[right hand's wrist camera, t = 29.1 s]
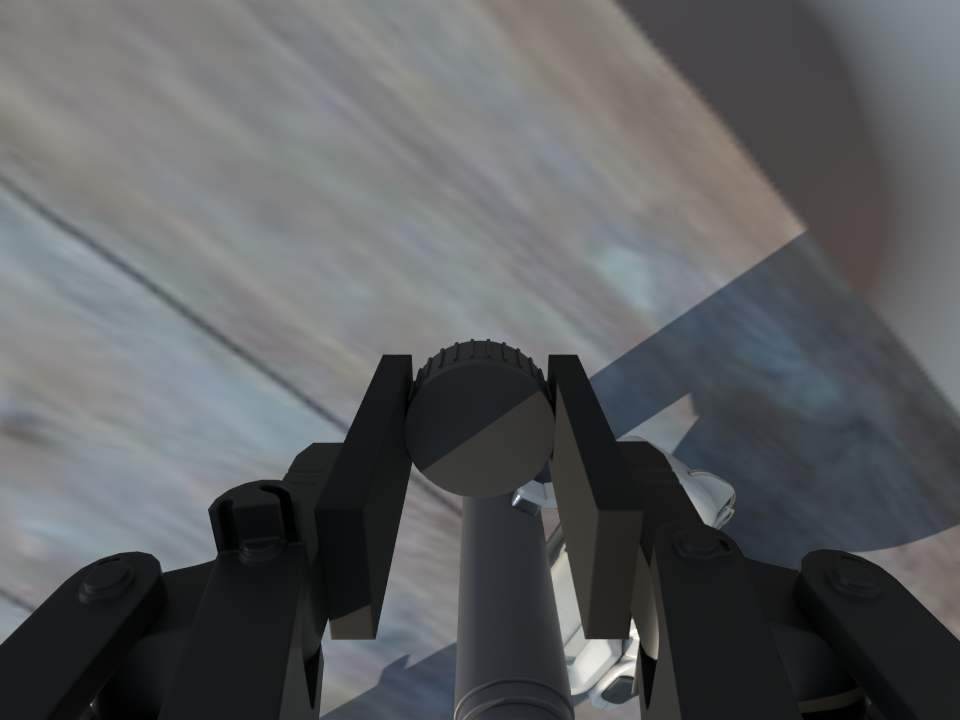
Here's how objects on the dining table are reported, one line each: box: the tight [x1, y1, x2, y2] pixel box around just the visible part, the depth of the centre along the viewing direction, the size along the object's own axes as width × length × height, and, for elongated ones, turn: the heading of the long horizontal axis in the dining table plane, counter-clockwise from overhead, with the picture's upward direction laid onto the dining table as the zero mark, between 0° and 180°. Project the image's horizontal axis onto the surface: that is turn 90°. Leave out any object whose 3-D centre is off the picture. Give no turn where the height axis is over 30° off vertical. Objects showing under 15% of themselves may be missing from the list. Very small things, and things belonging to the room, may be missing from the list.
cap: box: [405, 339, 555, 498], centre depth 14 cm, size 4×4×2 cm
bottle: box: [454, 478, 575, 720], centre depth 32 cm, size 6×6×25 cm
